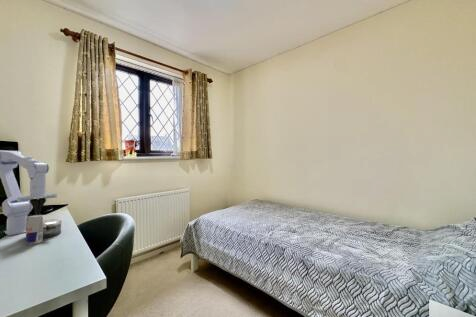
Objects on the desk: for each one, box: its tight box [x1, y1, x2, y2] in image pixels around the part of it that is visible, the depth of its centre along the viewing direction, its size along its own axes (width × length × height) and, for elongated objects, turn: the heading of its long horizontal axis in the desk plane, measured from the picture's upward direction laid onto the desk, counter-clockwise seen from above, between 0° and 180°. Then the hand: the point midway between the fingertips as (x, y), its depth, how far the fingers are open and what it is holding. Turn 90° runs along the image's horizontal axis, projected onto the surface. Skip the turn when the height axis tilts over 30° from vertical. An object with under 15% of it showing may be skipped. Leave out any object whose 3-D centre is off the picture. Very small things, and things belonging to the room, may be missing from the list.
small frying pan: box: [25, 218, 63, 230], centre depth 106 cm, size 19×13×1 cm
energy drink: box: [25, 214, 44, 246], centre depth 97 cm, size 5×5×12 cm
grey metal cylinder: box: [43, 223, 62, 240], centre depth 107 cm, size 13×13×5 cm
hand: (37, 214), depth 107 cm, fingers closed
